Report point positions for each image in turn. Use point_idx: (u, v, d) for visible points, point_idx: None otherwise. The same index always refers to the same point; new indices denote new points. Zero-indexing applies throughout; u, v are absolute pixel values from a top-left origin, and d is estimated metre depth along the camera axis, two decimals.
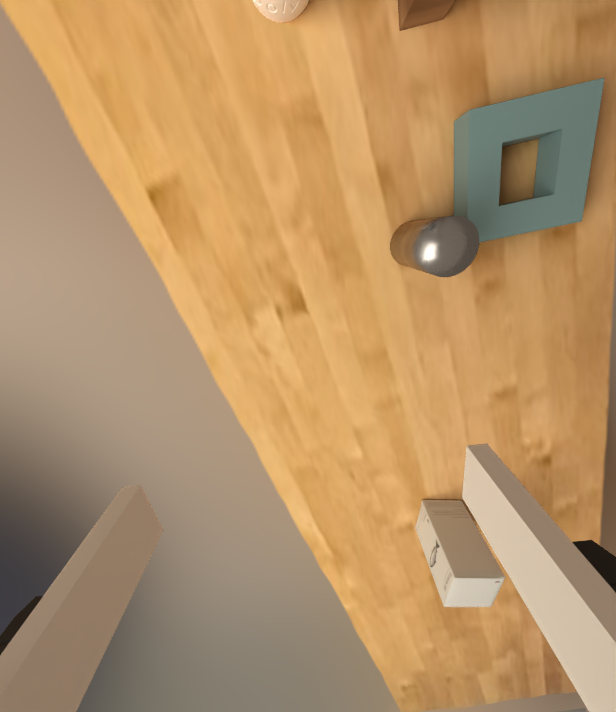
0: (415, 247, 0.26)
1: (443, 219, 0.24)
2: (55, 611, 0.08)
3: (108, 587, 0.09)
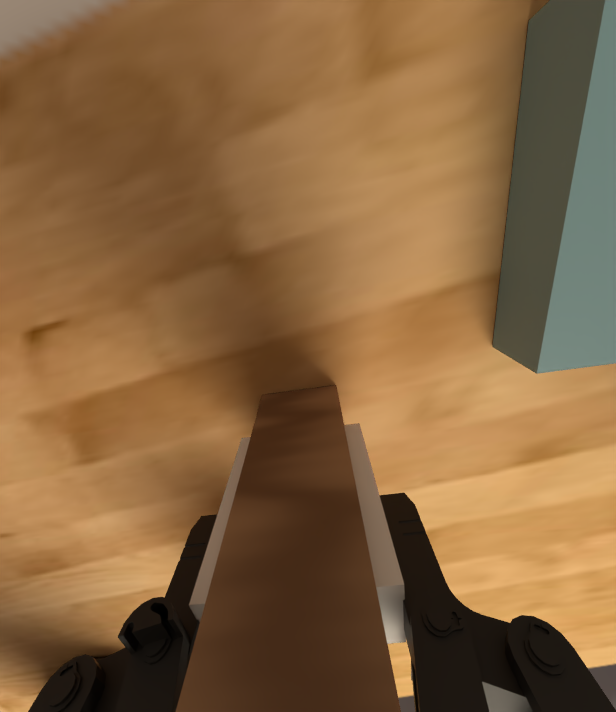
0: None
1: None
2: None
3: None
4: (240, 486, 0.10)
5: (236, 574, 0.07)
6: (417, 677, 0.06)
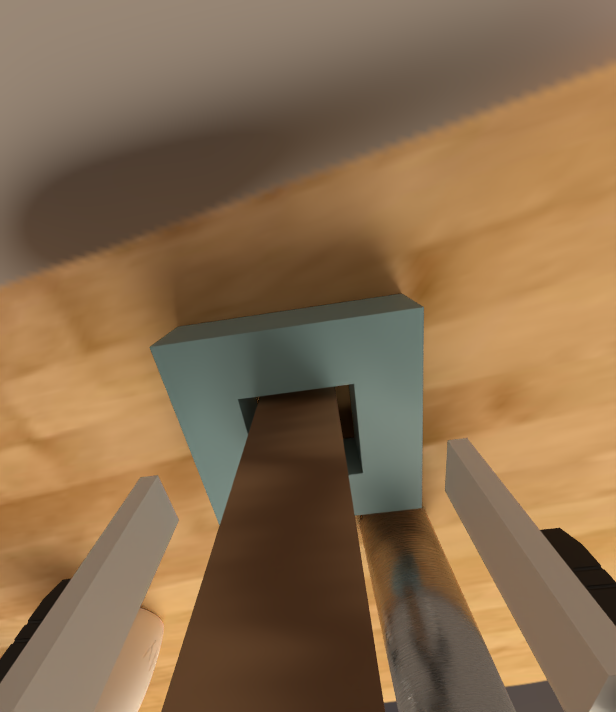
0: None
1: None
2: (85, 591, 0.08)
3: (130, 572, 0.10)
4: (244, 455, 0.11)
5: (240, 520, 0.09)
6: None
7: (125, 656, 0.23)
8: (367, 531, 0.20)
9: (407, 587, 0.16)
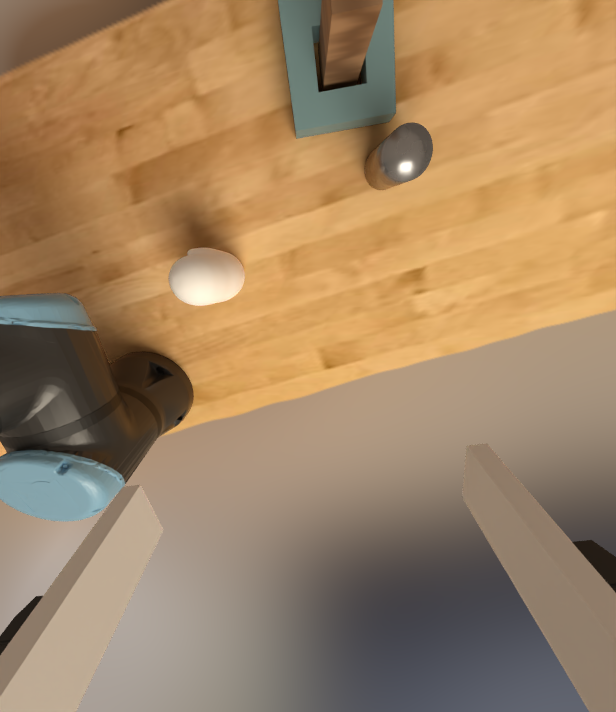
0: None
1: (387, 169, 0.30)
2: (55, 611, 0.08)
3: (108, 587, 0.09)
4: (321, 14, 0.28)
5: None
6: None
7: (230, 256, 0.40)
8: (367, 161, 0.37)
9: None
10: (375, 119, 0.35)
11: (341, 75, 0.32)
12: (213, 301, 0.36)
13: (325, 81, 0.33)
